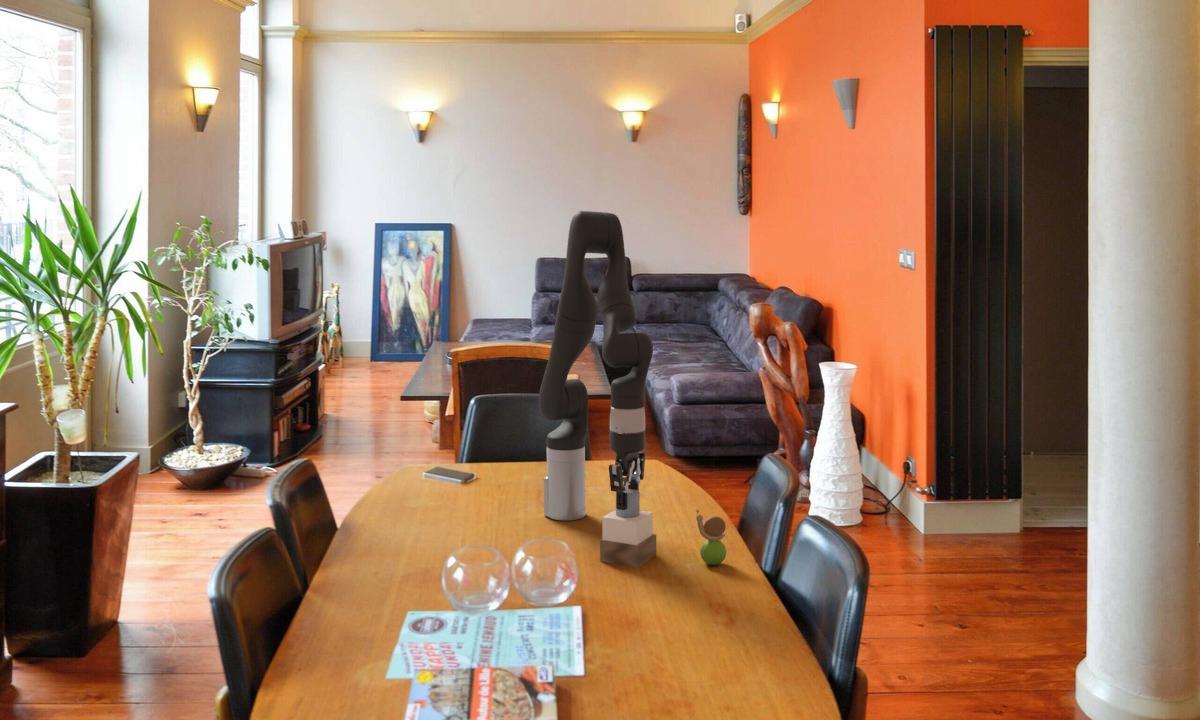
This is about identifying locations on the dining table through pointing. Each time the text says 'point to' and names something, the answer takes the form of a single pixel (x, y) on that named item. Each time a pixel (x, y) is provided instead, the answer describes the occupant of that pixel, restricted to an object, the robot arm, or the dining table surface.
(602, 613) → the dining table surface
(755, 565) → the dining table surface
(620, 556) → the tower base
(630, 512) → the grey blue cylinder
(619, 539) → the tower top
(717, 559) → the snail figurine
